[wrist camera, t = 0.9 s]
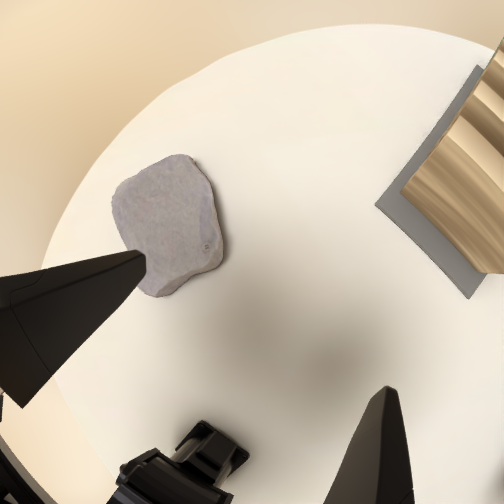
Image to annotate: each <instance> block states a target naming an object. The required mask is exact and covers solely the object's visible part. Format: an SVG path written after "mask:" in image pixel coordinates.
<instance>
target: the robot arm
mask: <svg viewBox="0 0 504 504" xmlns="http://www.w3.org/2000/svg"><path fill="white" fill-rule="evenodd" d="M146 272H147V268H146V255H145V254H144V253H142V252H141V251H139V250H137V249H135V250H129V251H125V252H120V253H115V254H110V255H106V256H101V257H96V258H92V259H87V260H83V261H78V262H74V263H69V264H65V265H60V266H56V267H51V268H48V269H42V270H38V271H34V272H29V273H24V274H17V275H11V276H5V277H0V422H1V421H2V407H3V393H4V392H5V393H6V394H7V395H8V396H9V397H10V398H12V400H13V401H15V402H16V403H17V404H18V405H19V406H20V407H21V408H22V409H23V408H24V407H25V406H26V405H27V404H28V402H29V401H30V400H31V399H32V398H33V397H34V395H36V393H37V392H38V391H39V390H40V389H41V388H42V387H43V386H44V384H45V383H46V382H47V381H48V380H49V379H50V378H51V377H52V375H54V373H55V372H56V371H57V370H58V369H59V368H60V367H61V366H62V365H63V364H64V363H65V362H66V361H67V360H68V358H69V357H70V356H71V355H72V354H73V353H74V352H75V351H76V350H77V349H78V348H79V347H80V346H81V345H82V344H83V343H84V342H85V341H86V340H87V339H88V338H89V337H90V336H91V335H92V334H93V333H94V332H95V331H96V330H97V329H98V328H99V327H100V326H101V324H102V323H103V322H104V321H105V320H106V319H107V318H109V317H110V316H111V315H112V314H113V313H114V312H115V311H116V310H117V309H118V307H119V306H120V305H121V304H122V303H123V302H124V301H125V300H126V298H127V297H128V296H129V295H130V294H131V292H132V291H133V290H134V289H135V288H136V286H137V285H138V284H139V283H140V282H141V280H142V279H143V278H144V277H145V275H146ZM201 425H203V426H201ZM175 451H176V453H175V454H174V455H173V456H172V457H171V458H168V457H167V456H165V455H164V454H162V453H161V452H160V450H158V449H157V448H154V449H152V450H149V451H147V452H145V453H143V454H142V455H140V456H138V457H136V458H134V459H133V460H131V461H129V462H128V463H125V464H122V465H121V466H120V474H119V476H118V478H117V480H116V485H118V486H119V487H118V488H117V490H116V491H115V492H114V494H113V495H112V496H111V498H110V499H109V501H108V502H107V503H106V504H230V503H231V501H232V499H233V497H234V495H233V494H231V493H227V492H225V491H223V490H221V489H220V487H221V485H222V484H223V482H224V481H225V479H226V478H227V477H228V476H229V475H230V474H231V473H233V472H234V471H235V470H236V469H237V468H239V467H240V466H241V465H242V464H243V463H244V462H246V461H247V460H248V458H249V456H250V455H249V453H247V452H246V451H244V450H243V449H241V448H240V447H239V446H237V445H236V444H234V443H233V442H231V441H230V440H229V439H227V438H226V437H224V436H223V435H222V434H220V433H219V432H218V431H216V430H215V429H213V428H212V427H211V426H210V425H208V424H207V423H206V422H204V421H199V422H198V423H197V424H196V426H195V427H194V428H193V429H192V430H191V431H190V433H189V434H188V435H187V436H186V437H185V438H184V440H183V441H182V442H181V443H180V444H179V445H178V446H177V448H176V449H175ZM243 455H245V456H246V457H244V456H243ZM412 488H413V481H412V473H411V465H410V458H409V451H408V444H407V438H406V432H405V427H404V421H403V416H402V411H401V406H400V401H399V396H398V392H397V390H396V389H394V388H392V387H389V386H384V387H383V388H382V389H381V390H380V391H379V392H377V393H376V394H375V395H374V396H373V397H372V398H371V399H370V401H369V403H368V405H367V408H366V410H365V412H364V414H363V416H362V418H361V421H360V423H359V425H358V427H357V429H356V431H355V433H354V435H353V437H352V439H351V441H350V444H349V446H348V448H347V451H346V454H345V456H344V459H343V461H342V463H341V466H340V468H339V471H338V473H337V475H336V478H335V480H334V482H333V484H332V486H331V489H330V491H329V493H328V495H327V497H326V499H325V501H324V503H323V504H415V501H414V490H413V489H412ZM0 504H57V503H56V502H55V501H54V500H53V499H52V498H51V497H50V495H49V494H48V493H47V492H46V491H45V490H44V489H43V488H42V487H41V486H40V485H39V484H38V483H37V482H36V480H35V479H34V478H33V477H32V476H31V475H30V473H29V472H28V471H27V470H26V469H25V467H24V466H23V465H22V464H21V462H20V461H19V460H18V459H17V457H16V456H15V455H14V453H13V452H12V451H11V449H10V448H9V447H8V445H7V444H6V442H5V441H4V439H3V438H2V437H1V435H0Z"/></svg>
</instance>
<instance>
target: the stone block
mask: <svg viewBox="0 0 504 504" xmlns="http://www.w3.org/2000/svg"><path fill="white" fill-rule="evenodd" d="M111 203H112V213H113V217H114V220H115V223H116V226H117V229H118V231H119V233H120V236H121V238H122V240H123V242H124V243H125V245H126V247H127V250H128V251H129V250H135V249H137V250H139V251H141V252H142V253H144V254H145V255H146V268H147V272H146V275H145V277H144V278H143V279H142V280H141V282H140V283H139V284H138V285H137V286H138V288H139V289H140V290H142V291H143V292H144V293H145V294H147V295H149V296H153V297H156V298H158V297H163V296H166V295H170V294H171V293H173V292H174V291H176V290H177V288H179V287H180V286H181V285H182V284H183V283H185V282H186V281H187V280H189V278H190V277H191V276H193V275H195V274H198V273H202V272H207V271H209V270H211V269H214V268H216V267H217V266H219V264H220V262H221V261H222V259H223V240H222V235H221V231H220V227H219V223H218V219H217V212H216V209H215V206H214V196H213V193H212V189H211V185H210V182H209V181H208V179H207V177H206V176H205V175H204V174H203V173H202V172H201V171H200V170H199V169H198V167H197V165H196V164H195V163H194V161H193V159H192V158H191V157H190V156H188V155H184V154H176V155H171V156H169V157H166V158H164V159H163V160H161V161H159V162H157V163H155V164H153V165H151V166H149V167H147V168H145V169H143V170H141V171H140V172H139V173H138V174H137V175H135V176H133V177H130V178H128V179H126V180H125V181H123V182H122V183H121V184H120V185H119V186H118V187H117V189H116V191H115V194H114V195H113V197H112V202H111Z"/></svg>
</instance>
